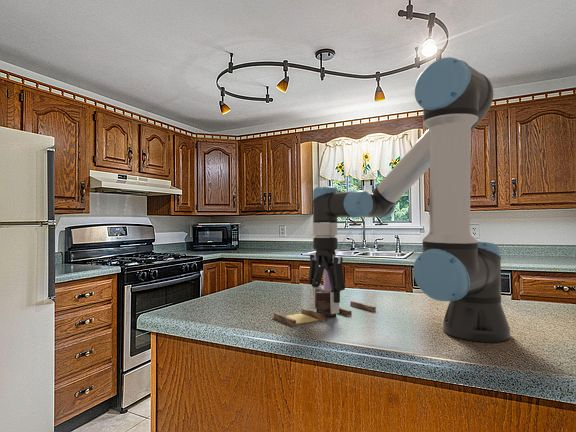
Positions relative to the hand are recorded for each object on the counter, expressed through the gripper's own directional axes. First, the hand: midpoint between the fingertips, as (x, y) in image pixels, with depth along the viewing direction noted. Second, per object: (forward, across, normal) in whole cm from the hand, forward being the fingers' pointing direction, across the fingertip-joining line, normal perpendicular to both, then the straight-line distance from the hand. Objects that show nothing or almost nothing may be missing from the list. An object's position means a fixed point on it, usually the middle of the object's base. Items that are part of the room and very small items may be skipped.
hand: (326, 310), depth 114 cm
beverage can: (+2, +19, -17) cm, 26 cm away
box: (+2, 0, 0) cm, 2 cm away
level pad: (+1, 0, +10) cm, 10 cm away
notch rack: (+1, 0, 0) cm, 1 cm away
